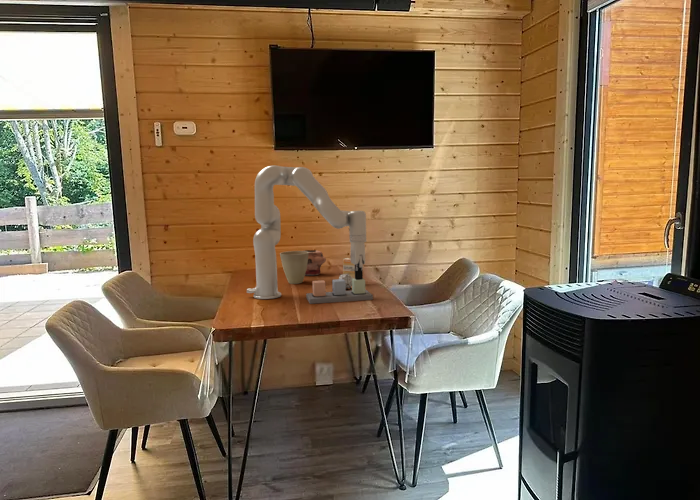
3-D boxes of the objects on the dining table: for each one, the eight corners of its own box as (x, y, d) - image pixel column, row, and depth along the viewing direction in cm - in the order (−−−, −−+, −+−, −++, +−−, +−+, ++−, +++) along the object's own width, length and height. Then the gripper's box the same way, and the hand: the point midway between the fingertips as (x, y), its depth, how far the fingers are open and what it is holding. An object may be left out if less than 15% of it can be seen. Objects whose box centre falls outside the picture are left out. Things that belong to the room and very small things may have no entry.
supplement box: (342, 284, 252) (342, 259, 250) (346, 282, 256) (346, 257, 255) (357, 285, 249) (357, 259, 247) (361, 283, 253) (360, 258, 252)
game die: (348, 297, 239) (352, 283, 232) (332, 290, 240) (335, 276, 233) (354, 285, 245) (358, 271, 239) (339, 279, 247) (342, 265, 240)
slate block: (334, 295, 217) (334, 281, 216) (332, 292, 222) (332, 279, 221) (345, 294, 218) (345, 281, 217) (343, 292, 223) (343, 279, 222)
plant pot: (305, 279, 268) (305, 250, 266) (312, 284, 254) (311, 253, 252) (278, 281, 263) (277, 251, 261) (283, 286, 249) (282, 255, 247)
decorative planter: (290, 277, 275) (289, 252, 273) (292, 273, 287) (291, 249, 285) (325, 276, 275) (325, 251, 273) (326, 272, 287) (325, 248, 285)
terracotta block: (314, 296, 215) (314, 283, 214) (312, 294, 220) (312, 280, 219) (325, 295, 216) (325, 282, 215) (323, 293, 221) (323, 280, 220)
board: (309, 303, 211) (309, 299, 211) (306, 297, 223) (306, 293, 223) (372, 299, 217) (372, 295, 217) (366, 293, 229) (366, 289, 228)
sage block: (354, 293, 219) (354, 280, 218) (351, 291, 223) (351, 278, 223) (365, 293, 220) (365, 279, 219) (362, 290, 225) (362, 277, 224)
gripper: (346, 237, 225) (347, 276, 227) (353, 240, 210) (354, 282, 213) (362, 236, 226) (362, 275, 229) (370, 239, 212) (371, 281, 214)
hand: (358, 279), depth 221 cm, fingers closed
